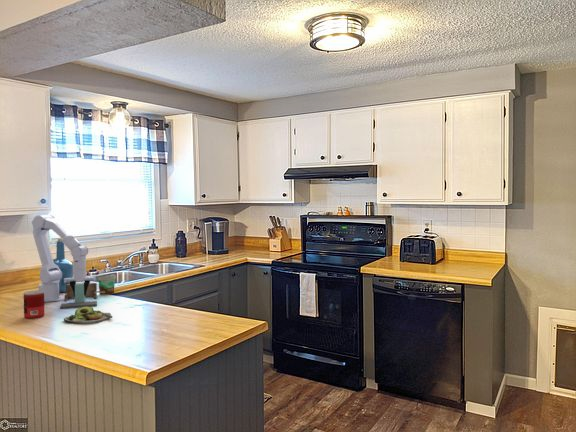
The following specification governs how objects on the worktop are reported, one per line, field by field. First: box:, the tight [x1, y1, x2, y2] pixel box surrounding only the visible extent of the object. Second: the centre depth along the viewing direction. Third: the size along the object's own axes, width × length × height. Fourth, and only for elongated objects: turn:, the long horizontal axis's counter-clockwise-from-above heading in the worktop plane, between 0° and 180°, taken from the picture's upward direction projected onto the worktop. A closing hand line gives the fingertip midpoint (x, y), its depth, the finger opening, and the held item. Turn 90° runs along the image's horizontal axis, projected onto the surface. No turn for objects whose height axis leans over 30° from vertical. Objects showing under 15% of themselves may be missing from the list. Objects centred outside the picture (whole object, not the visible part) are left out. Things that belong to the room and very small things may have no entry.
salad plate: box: [63, 306, 113, 325], centre depth 197 cm, size 19×18×5 cm
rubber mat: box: [59, 300, 98, 310], centre depth 223 cm, size 16×8×1 cm, turn 112°
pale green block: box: [74, 281, 86, 303], centre depth 233 cm, size 4×8×9 cm, turn 19°
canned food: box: [23, 289, 45, 320], centre depth 201 cm, size 8×8×11 cm
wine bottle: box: [48, 238, 74, 294], centre depth 262 cm, size 14×13×30 cm
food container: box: [97, 273, 117, 295], centre depth 256 cm, size 12×6×10 cm, turn 168°
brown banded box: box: [64, 282, 98, 302], centre depth 241 cm, size 15×9×7 cm, turn 112°
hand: (80, 295), depth 233 cm, fingers closed on pale green block, 4 cm apart
